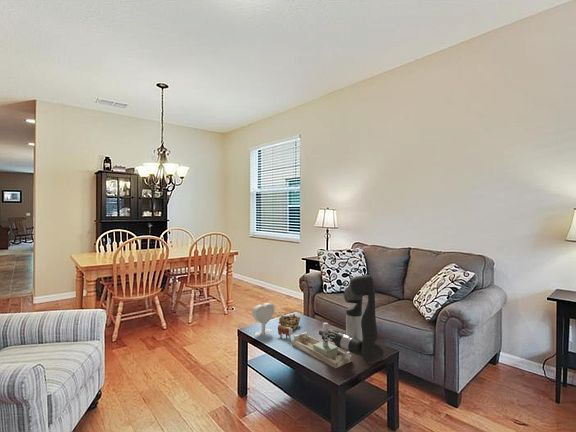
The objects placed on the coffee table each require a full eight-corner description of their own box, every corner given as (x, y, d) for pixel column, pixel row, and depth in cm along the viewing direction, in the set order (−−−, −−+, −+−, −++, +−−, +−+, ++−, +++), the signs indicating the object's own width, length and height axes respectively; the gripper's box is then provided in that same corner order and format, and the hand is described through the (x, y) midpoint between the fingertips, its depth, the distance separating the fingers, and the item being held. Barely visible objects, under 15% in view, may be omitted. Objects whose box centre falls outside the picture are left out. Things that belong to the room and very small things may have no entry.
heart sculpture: (256, 336, 199) (256, 307, 198) (251, 334, 202) (251, 305, 202) (275, 330, 209) (275, 303, 209) (270, 328, 213) (270, 301, 212)
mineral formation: (276, 325, 217) (293, 319, 227) (288, 335, 207) (306, 328, 216) (277, 314, 216) (294, 309, 225) (289, 323, 206) (306, 317, 215)
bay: (307, 341, 192) (307, 331, 192) (351, 363, 166) (351, 351, 166) (292, 346, 185) (292, 336, 184) (335, 370, 158) (335, 358, 158)
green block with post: (324, 349, 179) (324, 319, 178) (337, 356, 171) (338, 324, 170) (313, 353, 173) (313, 322, 173) (326, 360, 166) (326, 328, 165)
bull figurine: (290, 343, 189) (290, 329, 189) (276, 336, 199) (276, 323, 199) (295, 341, 192) (295, 328, 192) (281, 334, 202) (281, 321, 202)
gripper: (355, 331, 165) (330, 322, 178) (336, 338, 156) (312, 327, 170) (354, 345, 165) (330, 335, 179) (336, 353, 156) (312, 341, 170)
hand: (321, 331), depth 174 cm, fingers closed on green block with post, 3 cm apart
